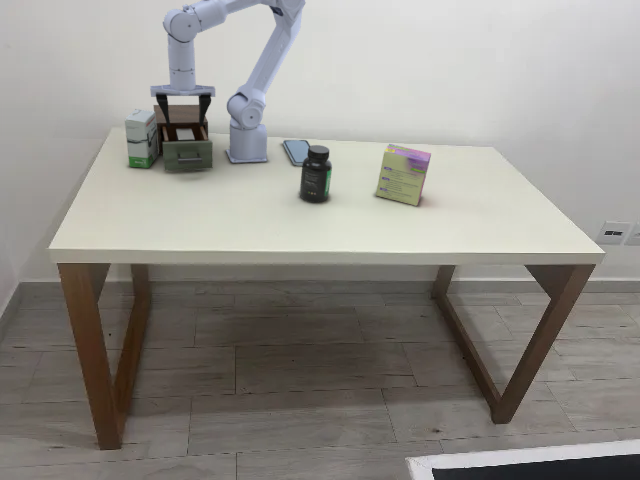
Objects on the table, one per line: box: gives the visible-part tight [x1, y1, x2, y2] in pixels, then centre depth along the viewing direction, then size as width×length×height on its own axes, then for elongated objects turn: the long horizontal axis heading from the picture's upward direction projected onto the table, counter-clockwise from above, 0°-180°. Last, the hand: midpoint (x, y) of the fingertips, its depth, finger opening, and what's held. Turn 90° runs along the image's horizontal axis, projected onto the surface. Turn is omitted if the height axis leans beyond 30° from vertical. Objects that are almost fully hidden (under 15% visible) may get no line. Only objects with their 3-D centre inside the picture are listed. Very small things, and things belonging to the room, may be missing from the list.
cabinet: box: [153, 104, 209, 156], centre depth 133 cm, size 14×13×9 cm
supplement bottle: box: [299, 144, 333, 204], centre depth 114 cm, size 7×7×12 cm
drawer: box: [162, 125, 214, 171], centre depth 122 cm, size 17×11×7 cm
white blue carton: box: [176, 129, 195, 142], centre depth 124 cm, size 4×7×6 cm, turn 19°
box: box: [375, 143, 432, 207], centre depth 119 cm, size 10×6×12 cm, turn 71°
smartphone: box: [282, 139, 311, 167], centre depth 137 cm, size 7×1×15 cm
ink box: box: [124, 108, 159, 169], centre depth 121 cm, size 9×5×12 cm, turn 179°
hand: (185, 125), depth 120 cm, fingers open, 7 cm apart
